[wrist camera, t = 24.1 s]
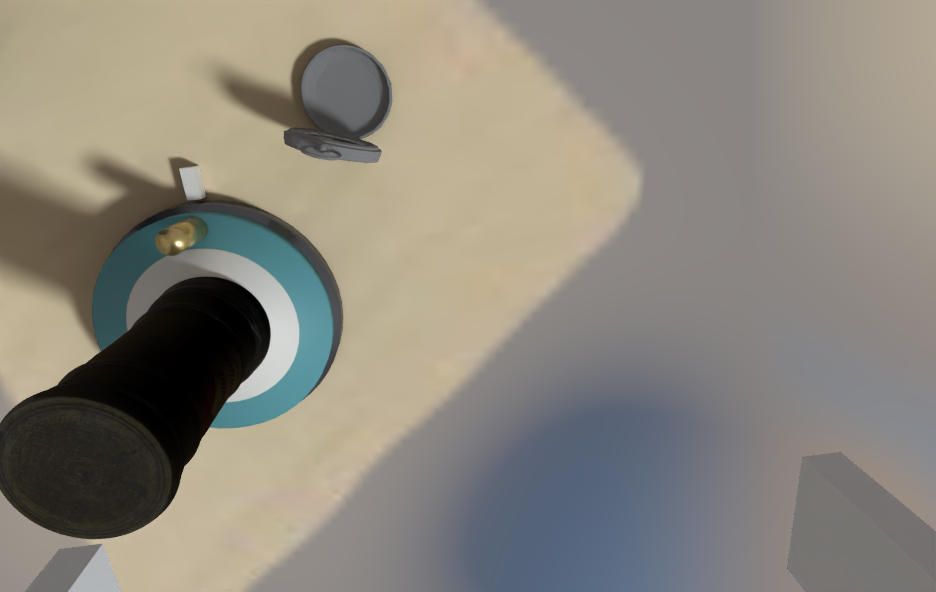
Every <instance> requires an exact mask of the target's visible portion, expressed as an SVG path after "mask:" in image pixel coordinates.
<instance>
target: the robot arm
mask: <svg viewBox="0 0 936 592" xmlns="http://www.w3.org/2000/svg"><path fill="white" fill-rule="evenodd" d="M787 569H788V570H789V571H790V572H791V574H792V575H793V576H794V578H795V579H796V580H797V582H798V583H799V584H800V585H801V587H802V588H803V589H804V590H805V592H936V531H935V530H934V529H932V528H931V527H930V526H929V525H927V524H926V523H925V522H924V521H923V520H921V519H920V518H919V517H918V516H916V514H914V513H913V512H912V511H911V510H910V509H908V508H907V507H906V506H904V504H902V503H901V502H900V501H899V500H898V499H896V498H895V497H894V496H893V495H892V494H890V493H889V492H888V491H887V490H886V489H884V488H883V487H882V486H881V485H879V484H878V483H877V482H876V481H875V480H874V479H872V478H871V477H870V476H869V475H868V474H866V473H865V472H864V471H863V470H861V469H860V468H859V467H858V466H857V465H855V464H854V463H853V462H852V461H851V460H849V459H848V458H847V457H846V456H845V455H843V454H842V453H841V452H837V453H830V454H821V455H813V456H805V457H802V462H801V469H800V476H799V484H798V492H797V499H796V506H795V513H794V521H793V528H792V536H791V543H790V550H789V558H788V565H787ZM25 592H121V590H120V587H119V585H118V582H117V580H116V577H115V574H114V572H113V569H112V567H111V564H110V561H109V559H108V556H107V554H106V551H105V548H104V546H103V544H97V545H89V546H80V547H72V548H65V549H59V550H58V551H57V553H56V554H55V555H54V556H53V558H52V559H51V560H50V561H49V562H48V564H47V565H46V566H45V567H44V569H43V570H42V571H41V572H40V573H39V575H38V576H37V577H36V578H35V580H34V581H33V582H32V583H31V585H30V586H29V587H28V588H27V590H26V591H25Z"/></svg>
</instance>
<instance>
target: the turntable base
mask: <svg viewBox="0 0 936 592" xmlns="http://www.w3.org/2000/svg"><path fill="white" fill-rule="evenodd" d="M179 170H180V174H181V178H182V182H183V186H184V190H185V194H186V198H187V201H188V200H199V199H202V198H205V197H206V194H205V189H204V185H203V181H202V177H201V173H200V169H199V166H190V167H183V168H179ZM199 211H210V212H222V213H229V214H235V215H238V216H242V217H245V218H249V219H251V220H254V221H256V222H259V223H261V224H264V225H266V226H267V227H269V228H271V229H273V230H275V231H276V232H278V233H280V234H281V235H282V236H284V237H285V238H287V239H288V240H289V241H291V242H292V243H293V244H294V245H295V246H296V247H297V248H298V249H299V250H301V251H302V252H303V254H304V255H305V256H306V257H307V258H308V259H309V261H310V262H311V263H312V264H313V266H314V267H315V269H316V270H317V272H318V273H319V275H320V276H321V278H322V280H323V283H324V285H325V287H326V289H327V292H328V295H329V298H330V301H331V304H332V310H333V315H334V336H333V343H332V347H331V351H330V355H329V358H328V360H327V363H326V365H325V368H324V370H323V373H322V375H321V376H320V378H319V380H318V381H317V383H316V385H315V386H314V387H313V389H312V390H311V391H310V392H309V393H308V395H309V394H311V392H312V391H313V390H314V389H315V388H316V387H317V386H318V385H319V384H320V383H321V381H322V380H323V379H324V377H325V376H326V374H327V373H328V371H329V369H330V367H331V365H332V363H333V361H334V358H335V355H336V353H337V350H338V347H339V344H340V340H341V335H342V330H343V308H342V300H341V296H340V292H339V288H338V285H337V283H336V280H335V278H334V275H333V273H332V271H331V270H330V268H329V266H328V264H327V262H326V261H325V259H324V258H323V257H322V255H321V254H320V253H319V251H318V250H317V249H316V248H315V247H314V245H313V244H312V243H311V242H310V241H309V240H308V239H307V238H306V237H305V236H304V235H302V234H301V233H300V232H299V231H298V230H296V229H295V228H294V227H292V226H291V225H289V224H288V223H286V222H285V221H283V220H282V219H280V218H278V217H276V216H274V215H272V214H270V213H268V212H266V211H263V210H260V209H257V208H254V207H252V206H248V205H244V204H239V203H234V202H225V201H199V202H193V203H187V204H183V205H180V206H176V207H173V208H170V209H167V210H165V211H163V212H160V213H158V214H156V215H154V216H152V217H150V218H148V219H146V220H144V221H143V222H141V223H140V224H138V225H137V226H135V227H134V228H133V229H132V230H131V231H130V232H129V233H127V234H126V235H125V236H124V237H123V238H122V239H121V241H120V242H119V243H118V244H117V246H116V247H115V248H114V250H115V249H116V248H117V247H118V246H119V245H120V244H121V243H122V242H123V241H125V240H126V239H127V238H128V237H130V236H131V235H132V234H134V233H135V232H137V231H139V230H141V229H142V228H144V227H146V226H148V225H150V224H153V223H155V222H157V221H160V220H162V219H165V218H167V217H170V216H174V215H178V214H183V213H189V212H199ZM114 250H113V251H114ZM113 251H112V253H113ZM112 253H111V254H112ZM308 395H307V396H308ZM307 396H306V397H307ZM302 400H303V399H302ZM302 400H301V401H302Z"/></svg>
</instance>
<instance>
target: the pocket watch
mask: <svg viewBox="0 0 936 592" xmlns="http://www.w3.org/2000/svg"><path fill="white" fill-rule="evenodd" d="M301 98H302V102H303V105H304V107H305V110H306V112H307V114H308V116H309V117H310V119H311V120H312V121H313V123H314V124H315V125H316V126H317V127H318V128H319V129H320V130H321V131H319V130H313V129H305V128H290V129H289V130H286V131H284V140H285V144H286V145H288V146H290V147H293V148H295V149H297V150H301V152H302V153H304V154H306V155H308V156H311V157H314V158H319V159H325V160H338V159H339V160H346V161H354V162H363V163H374V162H378V160H379V158H380V156H381V152H382V151H381V150H380V149H379V148H378V147H377V146H376V145H374V144H372V143H369V142H366V141H363V140H360V139H363V138H365V137H367V136H369V135H371V134H373V133H374V132H375V131H377V130H378V129H379V128H380V127H381V126H382V124H383V123H384V122H385V120H386V119H387V117H388V115H389V112H390V108H391V105H392V89H391V82H390V80H389V78H388V75H387V73H386V71H385V69H384V67H383V65H382V64H381V63H380V62H379V61H378V60H377V59H376V58H375V57H374V56H373V55H372V54H370V53H369V52H367V51H365V50H363V49H361V48H358V47H355V46H349V45H336V46H332V47H329V48H326V49H324V50H323V51H321V52H319V53H318V54H316V55H315V56H314V57H313V58H312V59H311V61H310V62H309V64H308V65H307V67H306V69H305V71H304V74H303V78H302V83H301Z"/></svg>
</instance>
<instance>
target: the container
mask: <svg viewBox="0 0 936 592" xmlns="http://www.w3.org/2000/svg"><path fill="white" fill-rule="evenodd" d="M270 339H271V329H270V323H269V319H268V316H267V314H266V312H265V310H264V308H263V306H262V305H261V303H260V302H259V301H258V299H257V298H256V297H255V296H254V295H253V294H252V293H250V292H249V291H248V290H247V289H245V288H244V287H242V286H241V285H239V284H237V283H235V282H233V281H230V280H227V279H223V278H218V277H195V278H190V279H186V280H183V281H180V282H178V283H176V284H174V285H173V286H171V287H170V288H168V289H167V290H166V291H165V292H164V293H163V294H162V295H161V296H160V297H159V298H158V299H157V300H156V301H155V302H154V303H153V304H152V305H151V306H150V308H149V309H148V311H147V312H146V313H145V314H143V315H142V316H141V317H140V318H139V319H138V320H137V321H136V322H135V323H134V324H133V326H132V328H131V329H130V330H129V331H127V332H126V333H124V334H123V335H122V336H121V337H119V338H118V339H117V340H116V341H114V342H113V343H112V344H110V345H109V346H108V347H106V348H105V349H104V350H102V351H101V352H100V353H98V354H97V355H95V356H94V357H93V358H92V359H91V360H89V361H88V362H87V363H86V364H83V365H81V366H79V367H77V368H75V369H74V370H72V371H71V372H69V373H68V374H67V375H66V376H65V377H64V378H63V379H62V380H61V381H60V382H59V384H58V385H57V386H55V387H53V388H50V389H49V390H46V391H43V392H40V393H38V394H35V395H33V396H31V397H29V398H27V399H25V400H23V401H22V402H21V403H19V404H18V405H16V406H15V407H14V408H13V409H12V410H11V411H10V412H9V413H8V414H7V415H6V416H5V418H4V419H3V420H2V422H1V423H0V490H1V492H2V493H3V495H4V496H5V497H6V499H7V500H8V501H9V502H10V503H11V504H12V505H13V506H14V507H15V508H16V509H17V510H18V511H19V512H20V513H21V514H23V515H24V516H25V517H27V518H28V519H29V520H31V521H33V522H34V523H36V524H38V525H40V526H42V527H44V528H46V529H48V530H51V531H53V532H56V533H59V534H62V535H67V536H71V537H76V538H82V539H105V538H113V537H118V536H122V535H125V534H129V533H131V532H134V531H136V530H138V529H140V528H142V527H144V526H145V525H147V524H149V523H150V522H152V521H153V520H154V519H156V518H157V517H158V516H159V515H160V514H161V513H163V512H164V511H165V509H166V508H167V507H168V506H169V505H170V503H171V502H172V500H173V498H174V497H175V495H176V493H177V490H178V487H179V483H180V479H181V475H182V472H183V469H184V466H185V465H186V464H187V463H188V462H189V461H190V460H191V459H192V457H193V456H194V454H195V453H196V451H197V449H198V446H199V444H200V441H201V439H202V437H203V436H204V435H205V433H206V432H207V430H208V429H209V427H210V426H211V424H212V423H213V421H214V420H215V418H216V417H217V415H218V413H219V412H220V410H221V409H222V407H223V406H224V404H225V403H226V401H227V400H228V398H229V397H231V396H232V395H233V394H234V393H235V392H236V391H237V389H238V388H239V386H240V384H241V383H243V382H244V381H245V380H247V379H248V378H249V377H250V376H251V375H252V373H253V372H254V371H255V370H256V369H257V368H258V367H259V366H260V364H261V363H262V362H263V360H264V359H265V357H266V355H267V352H268V349H269V346H270Z"/></svg>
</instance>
